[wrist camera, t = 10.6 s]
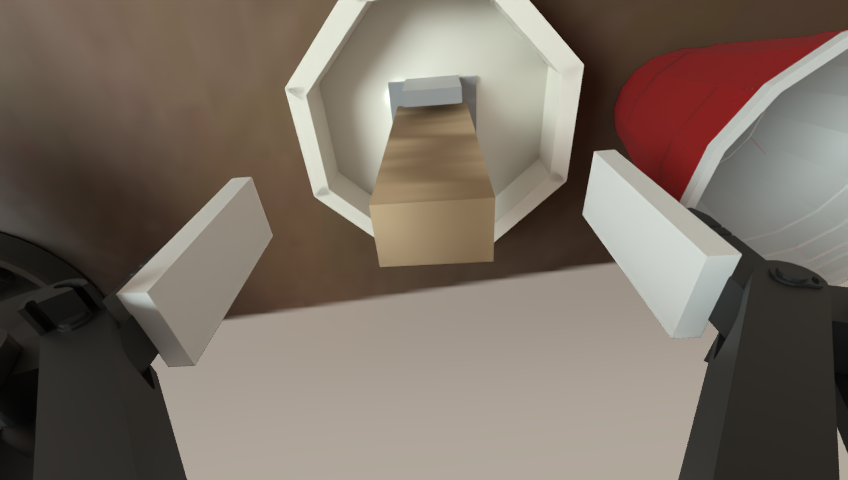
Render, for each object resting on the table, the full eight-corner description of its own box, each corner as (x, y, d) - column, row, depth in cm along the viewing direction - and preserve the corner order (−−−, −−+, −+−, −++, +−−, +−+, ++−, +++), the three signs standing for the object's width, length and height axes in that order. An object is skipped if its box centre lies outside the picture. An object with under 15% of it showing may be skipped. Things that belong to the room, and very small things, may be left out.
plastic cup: (730, 175, 25) (929, 298, 15) (566, 192, 26) (650, 318, 16) (801, -20, 19) (1211, -32, 9) (584, 10, 20) (738, 30, 10)
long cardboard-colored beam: (402, 147, 23) (379, 266, 13) (397, 106, 22) (368, 205, 12) (466, 143, 23) (492, 261, 13) (466, 101, 22) (495, 197, 12)
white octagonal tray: (340, 227, 28) (328, 257, 25) (282, -15, 19) (254, -16, 16) (543, 215, 27) (558, 245, 24) (574, -43, 19) (603, -50, 15)
